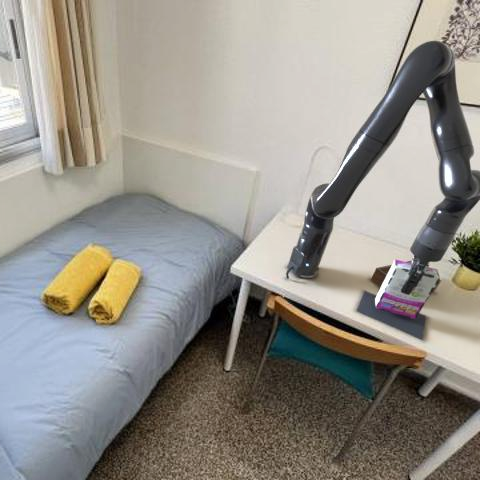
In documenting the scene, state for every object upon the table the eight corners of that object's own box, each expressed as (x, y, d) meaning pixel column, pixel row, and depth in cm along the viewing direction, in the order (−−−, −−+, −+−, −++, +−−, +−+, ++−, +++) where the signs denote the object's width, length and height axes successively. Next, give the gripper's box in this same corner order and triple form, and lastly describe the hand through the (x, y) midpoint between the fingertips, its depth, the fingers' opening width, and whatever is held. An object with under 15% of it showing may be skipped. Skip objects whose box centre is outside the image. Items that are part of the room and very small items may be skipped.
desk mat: (421, 339, 102) (422, 338, 102) (356, 311, 111) (356, 310, 110) (425, 316, 110) (426, 315, 110) (364, 291, 119) (364, 290, 119)
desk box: (397, 301, 115) (405, 289, 112) (370, 279, 124) (376, 267, 121) (433, 292, 120) (441, 280, 117) (404, 272, 129) (411, 260, 126)
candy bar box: (412, 309, 109) (438, 268, 100) (415, 320, 106) (442, 278, 97) (373, 298, 113) (394, 258, 104) (374, 308, 109) (396, 267, 100)
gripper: (419, 225, 102) (395, 271, 111) (414, 246, 92) (388, 294, 101) (450, 235, 98) (422, 280, 107) (448, 258, 88) (417, 306, 98)
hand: (406, 287), depth 104 cm, fingers closed on candy bar box, 5 cm apart
